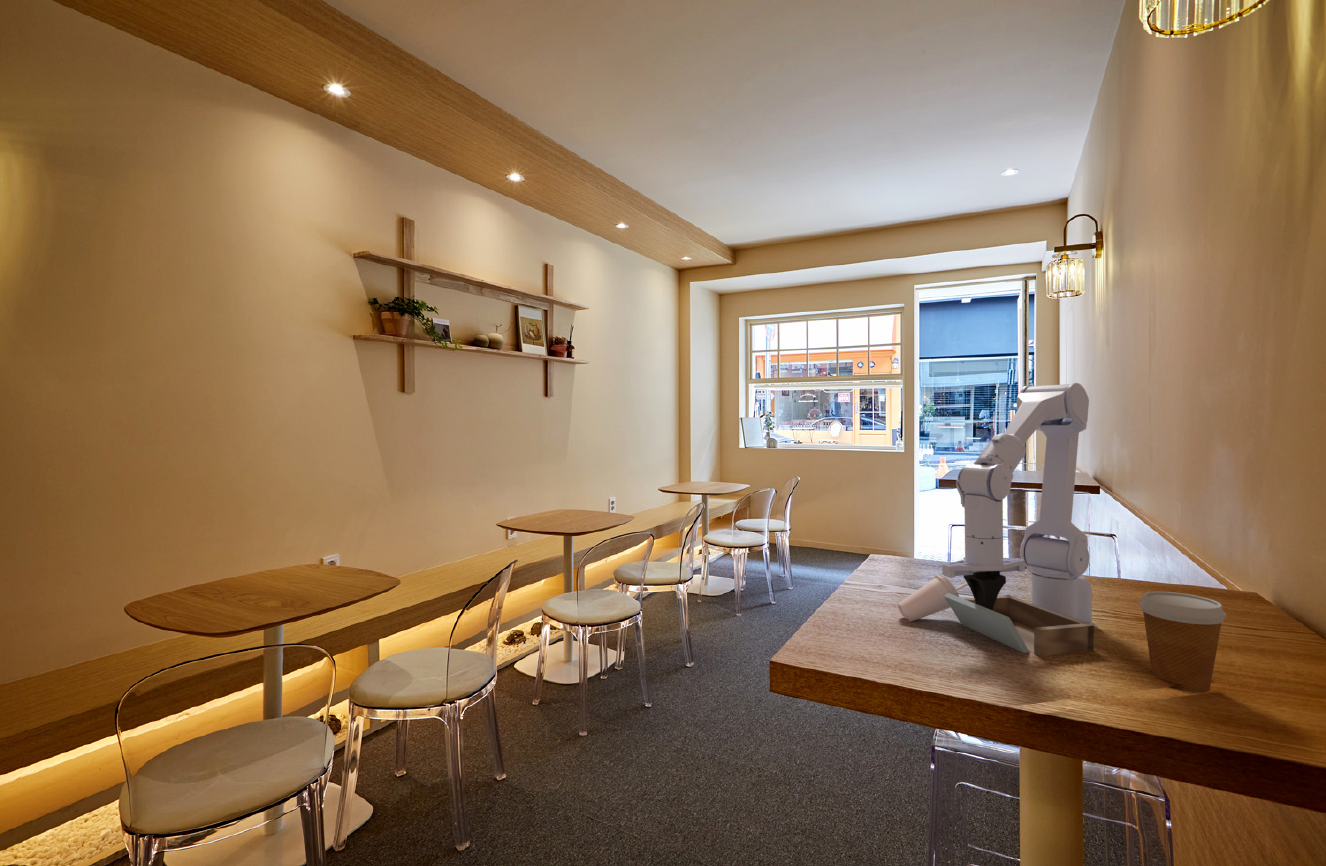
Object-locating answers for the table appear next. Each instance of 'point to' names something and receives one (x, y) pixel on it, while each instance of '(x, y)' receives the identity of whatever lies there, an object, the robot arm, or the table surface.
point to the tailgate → (986, 622)
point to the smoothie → (928, 598)
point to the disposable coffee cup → (1182, 638)
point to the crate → (1045, 627)
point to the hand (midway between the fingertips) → (984, 616)
